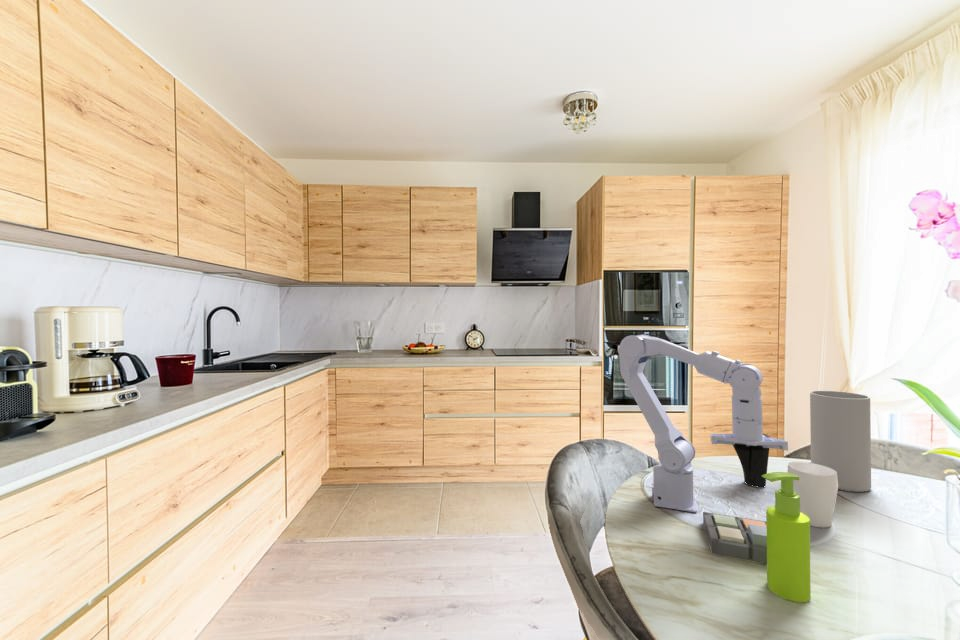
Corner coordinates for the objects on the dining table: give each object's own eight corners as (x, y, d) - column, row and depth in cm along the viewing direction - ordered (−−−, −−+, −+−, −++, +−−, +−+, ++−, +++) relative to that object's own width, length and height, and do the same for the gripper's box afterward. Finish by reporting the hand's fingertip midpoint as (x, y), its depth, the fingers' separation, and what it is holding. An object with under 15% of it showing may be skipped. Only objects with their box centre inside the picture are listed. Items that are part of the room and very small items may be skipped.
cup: (849, 532, 86) (848, 477, 86) (801, 528, 88) (800, 474, 88) (822, 512, 95) (821, 462, 95) (779, 509, 97) (779, 460, 97)
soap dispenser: (753, 580, 71) (752, 468, 71) (789, 578, 71) (788, 466, 71) (781, 604, 65) (779, 481, 65) (820, 601, 65) (818, 479, 65)
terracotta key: (746, 539, 83) (746, 527, 83) (742, 529, 86) (742, 518, 86) (769, 543, 81) (769, 531, 81) (764, 533, 85) (764, 521, 85)
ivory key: (720, 547, 80) (720, 535, 80) (717, 537, 84) (717, 525, 84) (744, 552, 78) (744, 539, 78) (739, 541, 82) (739, 529, 82)
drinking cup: (778, 489, 108) (778, 416, 108) (750, 490, 108) (749, 416, 108) (759, 478, 115) (758, 410, 115) (732, 478, 116) (732, 410, 116)
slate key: (753, 546, 78) (753, 533, 78) (748, 536, 81) (748, 524, 81) (777, 550, 76) (777, 537, 76) (771, 540, 80) (771, 527, 80)
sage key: (716, 534, 85) (716, 522, 85) (713, 525, 89) (713, 513, 89) (738, 537, 83) (738, 525, 83) (734, 528, 87) (734, 517, 87)
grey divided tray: (712, 553, 79) (712, 541, 79) (703, 522, 91) (703, 511, 91) (792, 568, 74) (792, 555, 74) (771, 533, 86) (771, 522, 86)
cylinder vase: (800, 474, 119) (799, 390, 119) (847, 475, 117) (846, 391, 117) (831, 492, 106) (830, 398, 106) (884, 494, 104) (883, 399, 104)
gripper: (713, 419, 89) (714, 480, 89) (792, 424, 84) (793, 489, 84) (708, 413, 96) (709, 469, 96) (781, 417, 90) (783, 477, 90)
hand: (748, 478), depth 90 cm, fingers closed
